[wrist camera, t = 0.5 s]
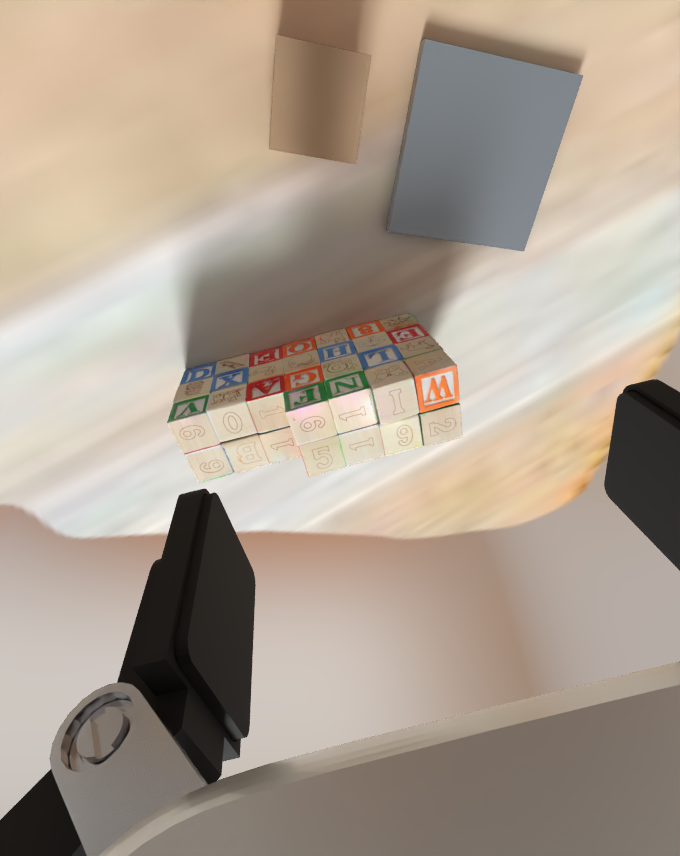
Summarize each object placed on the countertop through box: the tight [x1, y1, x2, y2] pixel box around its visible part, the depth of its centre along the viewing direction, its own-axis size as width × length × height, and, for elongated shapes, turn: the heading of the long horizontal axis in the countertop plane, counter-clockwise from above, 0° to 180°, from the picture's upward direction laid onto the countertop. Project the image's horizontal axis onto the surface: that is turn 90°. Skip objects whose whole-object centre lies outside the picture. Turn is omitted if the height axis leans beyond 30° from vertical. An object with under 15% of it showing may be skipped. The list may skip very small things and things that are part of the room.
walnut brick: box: [269, 35, 371, 164], centre depth 30 cm, size 6×6×6 cm
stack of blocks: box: [167, 313, 462, 483], centre depth 37 cm, size 21×6×12 cm, turn 102°
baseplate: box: [386, 39, 583, 251], centre depth 35 cm, size 12×12×1 cm
